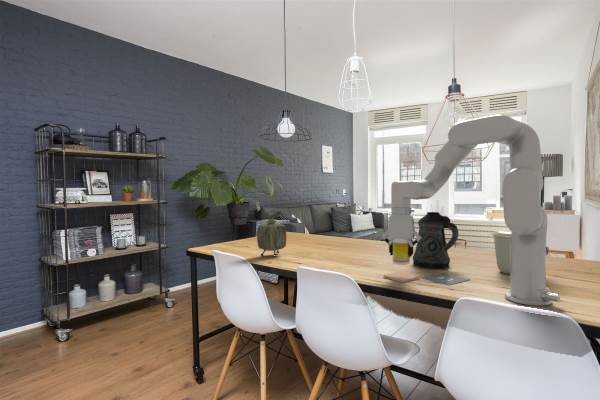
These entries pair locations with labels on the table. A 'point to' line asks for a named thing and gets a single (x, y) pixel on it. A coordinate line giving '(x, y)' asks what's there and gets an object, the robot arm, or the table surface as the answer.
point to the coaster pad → (401, 277)
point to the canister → (503, 249)
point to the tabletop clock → (271, 235)
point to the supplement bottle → (401, 251)
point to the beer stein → (434, 241)
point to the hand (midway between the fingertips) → (401, 255)
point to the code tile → (445, 279)
